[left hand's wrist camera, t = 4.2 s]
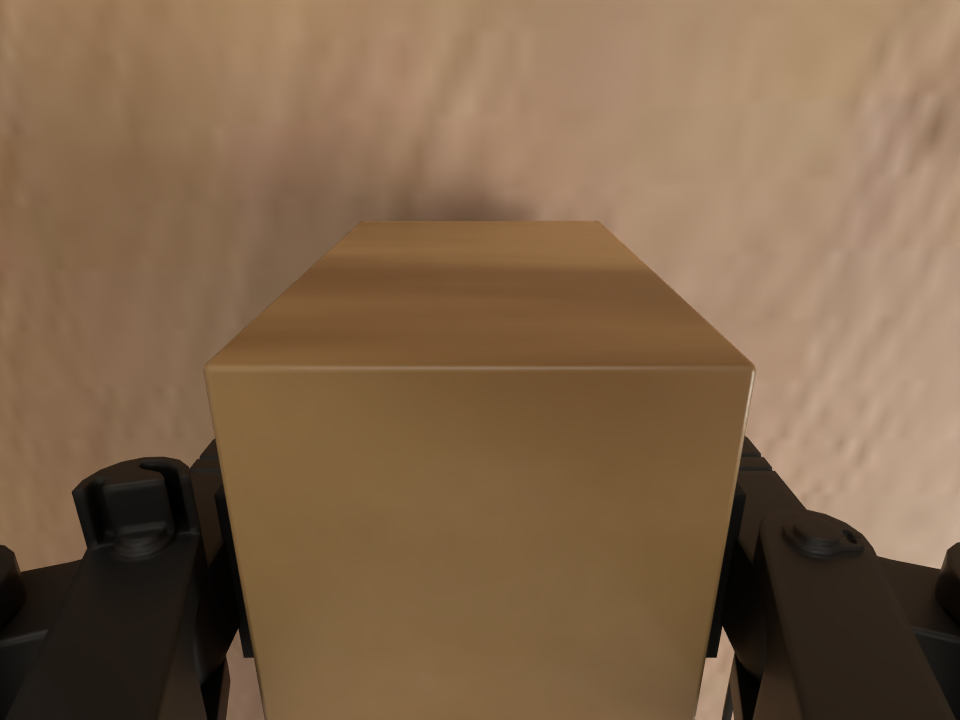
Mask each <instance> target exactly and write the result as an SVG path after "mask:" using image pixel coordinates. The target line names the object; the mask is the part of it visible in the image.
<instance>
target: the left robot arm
mask: <svg viewBox="0 0 960 720" xmlns="http://www.w3.org/2000/svg"><path fill="white" fill-rule="evenodd" d="M72 495H73V499H74V502H75V506H76V509H77V513H78V516H79V520H80V524H81V527H82V531H83V534H84V538H85V541H86V545H87V550H86V552H85V554H84V556H83V558H82V559H81V560H77V561H73V562H69V563H64V564H59V565H54V566H49V567H44V568H39V569H34V570H29V571H24V572H20V569H19V566H18V563H17V560H16V557H15V554H14V552H13V551H11V550H10V549H9V548H7V547H6V546H4V545H0V720H226V714H227V706H228V697H229V689H230V675H229V668H228V663H227V658H226V653H227V651H228V649H229V647H230V645H231V643H232V640H233V638H234V636H235V634H236V632H237V630H238V628H239V634H240V639H241V645H242V650H243V655H244V658H254V655H253V649H252V643H251V638H250V632H249V626H248V620H247V615H246V609H245V603H244V598H243V592H242V586H241V581H240V575H239V569H238V564H237V558H236V552H235V547H234V541H233V535H232V530H231V524H230V518H229V513H228V507H227V501H226V496H225V490H224V484H223V479H222V473H221V467H220V462H219V456H218V450H217V445H216V439H214V440H213V441H212V442H211V443H210V444H209V446H208V447H207V448H206V449H205V450H204V452H203V453H202V454H201V455H200V459H197V460H196V462H195V463H194V464H193V465H192V466H191V468H190V469H189V467H188V466H187V465H186V464H184V463H183V462H182V461H180V460H177V459H173V458H168V457H143V458H138V459H133V460H129V461H124V462H120V463H117V464H115V465H112V466H109V467H107V468H104V469H101V470H99V471H97V472H96V473H94V474H92V475H91V476H89V477H87V478H86V479H84V480H82V482H81V483H80V484H79V485H78V486H77V487H76V488H75V489H74V490H73V491H72ZM722 626H723V628H724V630H725V632H726V634H727V636H728V638H729V641H730V643H731V645H732V647H733V649H734V651H735V653H734V658H733V663H732V668H731V673H730V678H729V683H728V688H727V693H726V699H725V704H724V709H723V716H722V720H731V717H732V712H733V713H734V720H960V542H959V543H956V544H955V545H953V546H952V547H951V548H949V549H948V550H947V553H946V556H945V559H944V562H943V565H942V568H941V569H936V568H931V567H926V566H921V565H916V564H911V563H906V562H901V561H896V560H890V559H887V558H883V557H879V556H877V555H876V553H875V551H874V549H873V547H872V546H871V544H870V543H869V542H868V541H867V539H866V538H865V537H864V536H863V534H861V533H860V532H858V531H857V530H855V529H854V528H852V527H851V526H850V525H848V524H847V523H845V522H843V521H840V520H838V519H836V518H833V517H831V516H829V515H826V514H823V513H819V512H814V511H810V510H807V509H806V508H805V507H804V506H803V505H802V503H801V502H800V501H799V500H798V499H797V497H796V496H795V495H794V494H793V492H792V491H791V490H790V489H789V488H788V486H787V485H786V484H785V483H784V481H783V480H782V479H781V478H780V477H779V475H778V474H777V473H776V472H775V471H772V467H771V466H770V464H769V463H768V462H767V461H766V459H765V458H764V457H761V453H760V452H759V451H758V450H757V448H756V447H755V446H754V445H753V444H752V442H751V441H750V440H749V439H748V438H747V437H746V436H745V437H744V442H743V448H742V454H741V459H740V465H739V471H738V476H737V482H736V488H735V493H734V499H733V505H732V511H731V516H730V522H729V528H728V533H727V539H726V545H725V550H724V556H723V562H722V568H721V573H720V579H719V585H718V590H717V596H716V602H715V607H714V613H713V619H712V624H711V630H710V636H709V642H708V647H707V653H706V658H717V652H718V647H719V642H720V636H721V631H722Z"/></svg>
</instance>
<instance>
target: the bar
mask: <svg viewBox="0 0 960 720" xmlns="http://www.w3.org/2000/svg"><path fill="white" fill-rule="evenodd" d="M755 374H756V369H755V366H754V364H753V363H752V362H751V361H750V360H749V359H747V358H746V357H745V356H744V355H743V354H742V353H741V352H740V351H739V350H738V349H737V348H736V347H734V346H733V345H732V344H731V343H730V342H729V341H728V340H727V339H726V338H725V337H724V336H723V335H721V334H720V333H719V332H718V331H717V330H716V329H715V328H714V327H713V326H712V325H711V324H710V323H708V322H707V321H706V320H705V319H704V318H703V317H702V316H701V315H700V314H699V313H698V312H697V311H696V310H694V309H693V308H692V307H691V306H690V305H689V304H688V303H687V302H686V301H685V300H684V299H683V298H681V297H680V296H679V295H678V294H677V293H676V292H675V291H674V290H673V289H672V288H671V287H670V286H668V285H667V284H666V283H665V282H664V281H663V280H662V279H661V278H660V277H659V276H658V275H657V274H655V273H654V272H653V271H652V270H651V269H650V268H649V267H648V266H647V265H646V264H645V263H644V262H642V261H641V260H640V259H639V258H638V257H637V256H636V255H635V254H634V253H633V252H632V251H631V250H629V249H628V248H627V247H626V246H625V245H624V244H623V243H622V242H621V241H620V240H619V239H618V238H616V237H615V236H614V235H613V234H612V233H611V232H610V231H609V230H608V229H607V228H606V227H605V226H603V225H602V224H601V223H600V222H598V221H362V222H360V223H359V224H358V225H357V226H356V227H355V228H354V229H353V230H351V231H350V232H349V233H348V234H347V235H346V236H345V237H344V238H343V239H342V240H341V241H339V242H338V243H337V244H336V245H335V246H334V247H333V248H332V249H331V250H330V251H329V252H327V253H326V254H325V255H324V256H323V257H322V258H321V259H320V260H319V261H318V262H317V263H315V264H314V265H313V266H312V267H311V268H310V269H309V270H308V271H307V272H306V273H305V274H304V275H302V276H301V277H300V278H299V279H298V280H297V281H296V282H295V283H294V284H293V285H292V286H290V287H289V288H288V289H287V290H286V291H285V292H284V293H283V294H282V295H281V296H280V297H278V298H277V299H276V300H275V301H274V302H273V303H272V304H271V305H270V306H269V307H268V308H266V309H265V310H264V311H263V312H262V313H261V314H260V315H259V316H258V317H257V318H256V319H254V320H253V321H252V322H251V323H250V324H249V325H248V326H247V327H246V328H245V329H244V330H243V331H241V332H240V333H239V334H238V335H237V336H236V337H235V338H234V339H233V340H232V341H231V342H229V343H228V344H227V345H226V346H225V347H224V348H223V349H222V350H221V351H220V352H219V353H217V354H216V355H215V356H214V357H213V358H212V359H211V360H210V361H209V362H208V363H207V364H205V367H204V377H205V382H206V388H207V394H208V399H209V405H210V411H211V416H212V422H213V428H214V433H215V439H216V445H217V450H218V456H219V462H220V467H221V473H222V479H223V484H224V490H225V496H226V501H227V507H228V513H229V518H230V524H231V530H232V535H233V541H234V547H235V552H236V558H237V564H238V569H239V575H240V581H241V586H242V592H243V598H244V603H245V609H246V615H247V620H248V626H249V632H250V638H251V643H252V649H253V655H254V660H255V666H256V672H257V677H258V683H259V689H260V694H261V700H262V706H263V711H264V717H265V720H695V716H696V710H697V704H698V699H699V693H700V687H701V681H702V676H703V670H704V664H705V659H706V653H707V647H708V642H709V636H710V630H711V624H712V619H713V613H714V607H715V602H716V596H717V590H718V585H719V579H720V573H721V568H722V562H723V556H724V550H725V545H726V539H727V533H728V528H729V522H730V516H731V511H732V505H733V499H734V493H735V488H736V482H737V476H738V471H739V465H740V459H741V454H742V448H743V442H744V437H745V431H746V425H747V419H748V414H749V408H750V402H751V397H752V391H753V385H754V380H755Z"/></svg>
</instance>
